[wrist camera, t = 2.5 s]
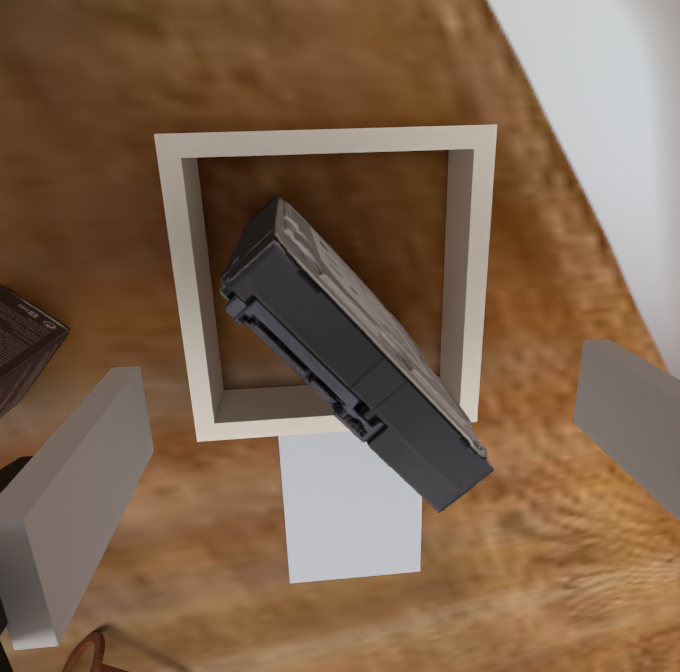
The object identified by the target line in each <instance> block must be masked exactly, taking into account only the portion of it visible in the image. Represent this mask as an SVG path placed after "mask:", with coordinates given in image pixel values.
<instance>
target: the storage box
mask: <svg viewBox="0 0 680 672" xmlns="http://www.w3.org/2000/svg"><path fill="white" fill-rule="evenodd" d="M496 136H497V124H496V125H460V126H423V127H387V128H351V129H315V130H278V131H242V132H206V133H169V134H154V138H155V145H156V152H157V160H158V167H159V174H160V181H161V188H162V195H163V202H164V209H165V217H166V224H167V231H168V238H169V245H170V252H171V259H172V266H173V273H174V281H175V288H176V295H177V302H178V309H179V316H180V323H181V330H182V337H183V345H184V352H185V359H186V366H187V373H188V380H189V387H190V394H191V402H192V409H193V416H194V423H195V430H196V437H197V442H201V441H215V440H229V439H243V438H257V437H271V436H285V435H299V434H313V433H327V432H341V431H350V430H349V429H348V428H347V427H346V426H345V425H344V424H343V423H342V422H340V421H339V420H338V419H337V418H336V417H335V416H334V410H333V408H332V407H331V406H330V405H329V404H328V403H326V402H325V401H324V400H323V399H322V398H321V397H320V396H319V395H318V394H317V393H316V392H315V391H314V390H313V389H312V388H311V387H310V386H309V385H297V386H282V387H266V388H250V389H235V390H224V386H223V378H222V369H221V361H220V352H219V343H218V335H217V326H216V317H215V309H214V300H213V292H212V283H211V274H210V266H209V257H208V248H207V240H206V231H205V223H204V214H203V205H202V197H201V188H200V179H199V171H198V162H197V158H199V157H232V156H264V155H296V154H328V153H360V152H393V151H425V150H449V155H448V180H447V206H446V231H445V256H444V282H443V307H442V332H441V358H440V376H438V378H439V379H440V380H441V381H442V382H443V383H444V384H445V386H446V387H447V388H448V390H449V391H450V393H451V394H452V395H453V397H454V398H455V400H456V401H457V402H458V404H459V405H460V407H461V408H462V409H463V411H464V412H465V414H466V415H467V416H468V418H469V419H470V421H471V422H477V415H478V400H479V385H480V371H481V356H482V341H483V327H484V312H485V298H486V283H487V268H488V254H489V239H490V224H491V210H492V195H493V180H494V166H495V151H496Z"/></svg>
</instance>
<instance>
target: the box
mask: <svg viewBox="0 0 680 672" xmlns="http://www.w3.org/2000/svg"><path fill="white" fill-rule="evenodd" d="M68 332H69V330H68V329H67V328H65V327H64V326H63V325H62V324H61V323H60V322H59V321H57V320H55V319H53V318H51V317H50V316H49V315H47V314H45V313H44V312H43V311H41V310H40V309H38V308H36V307H34V306H33V305H31V304H30V303H28V302H27V301H25V300H23V299H22V298H20V297H18V296H17V295H15V294H14V293H12V292H11V291H9V290H7V289H5V288H4V287H2V286H0V418H1V417H3V416H4V415H5V414H6V413H7V412H8V411H9V410H11V409H12V408H13V407H14V406H15V405H17V404H18V402H19V401H20V400H21V399H22V397H23V396H24V395H25V393H26V392H27V391H28V389H29V388H30V386H31V385H32V384H33V382H34V381H35V380H36V378H37V377H38V376H39V374H40V373H41V371H42V370H43V368H44V367H45V366H46V364H47V363H48V362H49V360H50V359H51V357H52V356H53V354H54V353H55V352H56V350H57V349H58V347H59V346H60V344H61V343H62V342H63V340H64V338H65V337H66V336H67V334H68Z"/></svg>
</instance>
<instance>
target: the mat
mask: <svg viewBox="0 0 680 672" xmlns="http://www.w3.org/2000/svg"><path fill="white" fill-rule="evenodd" d="M278 439H279V451H280V464H281V476H282V489H283V502H284V514H285V527H286V539H287V552H288V565H289V577H290V583H300V582H310V581H321V580H332V579H343V578H354V577H365V576H375V575H386V574H397V573H408V572H419V571H420V556H421V522H422V496H421V495H420V494H418V493H417V492H416V490H414V489H413V488H412V487H411V486H410V485H409V484H408V483H407V482H405V481H404V480H403V479H402V478H401V477H400V475H399V474H397V473H396V472H395V471H394V470H393V469H392V468H391V467H389V466H388V465H387V464H386V463H385V462H384V461H383V460H382V459H381V458H380V457H379V456H378V455H377V454H376V453H375V452H374V451H373V450H371V449H370V447H369V446H368V444H367V442H362V441H361V440H360V439H359V438H357V437H356V436H355V435H353V433H352V432H351V431H341V432H327V433H313V434H299V435H285V436H278Z"/></svg>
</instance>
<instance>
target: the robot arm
mask: <svg viewBox="0 0 680 672" xmlns="http://www.w3.org/2000/svg"><path fill="white" fill-rule="evenodd" d="M573 422H574V423H575V424H576V425H577V426H578V427H579V428H580V429H581V430H582V431H583V432H584V433H586V434H587V435H588V436H589V437H590V438H591V439H592V440H593V441H594V442H595V443H596V444H597V445H598V446H599V447H600V448H602V449H603V450H604V451H605V452H606V453H607V454H608V455H609V456H610V457H611V458H612V459H613V460H614V461H615V462H616V463H617V464H619V465H620V466H621V467H622V468H623V469H624V470H625V471H626V472H627V473H628V474H629V475H630V476H631V477H632V478H633V479H634V480H636V481H637V482H638V483H639V484H640V485H641V486H642V487H643V488H644V489H645V490H646V491H647V492H648V493H649V494H650V495H652V496H653V497H654V498H655V499H656V500H657V501H658V502H659V503H660V504H661V505H662V506H663V507H664V508H665V509H666V510H667V511H669V512H670V513H671V514H672V515H673V516H674V517H675V518H676V519H677V520H678V521H679V522H680V380H679V379H677V378H676V377H674V376H672V375H670V374H669V373H667V372H665V371H663V370H661V369H660V368H658V367H656V366H654V365H653V364H651V363H649V362H647V361H646V360H644V359H642V358H640V357H639V356H637V355H635V354H633V353H632V352H630V351H628V350H626V349H625V348H623V347H621V346H619V345H618V344H616V343H614V342H612V341H611V340H609V339H601V340H584V342H583V350H582V358H581V365H580V373H579V380H578V388H577V396H576V403H575V411H574V418H573ZM153 452H154V448H153V442H152V436H151V430H150V424H149V418H148V412H147V406H146V401H145V395H144V389H143V383H142V377H141V371H140V366H133V367H115V368H111V369H110V371H109V372H108V373H107V374H106V375H105V376H104V377H103V378H102V380H101V381H100V382H99V383H98V384H97V385H96V386H95V388H94V389H93V390H92V391H91V392H90V393H89V394H88V395H87V397H86V398H85V399H84V400H83V401H82V402H81V403H80V404H79V406H78V407H77V408H76V409H75V410H74V411H73V412H72V413H71V415H70V416H69V417H68V418H67V419H66V420H65V421H64V422H63V424H62V425H61V426H60V427H59V428H58V429H57V430H56V431H55V433H54V434H53V435H52V436H51V437H50V438H49V439H48V440H47V442H46V443H45V444H44V445H43V446H42V447H41V448H40V450H39V451H38V452H37V453H36V454H35V455H34V456H28V457H20V458H18V459H17V460H15V461H14V462H12V463H10V464H9V465H7V466H5V467H4V468H2V469H1V470H0V635H1V633H2V632H3V630H4V629H5V627H6V625H7V628H8V632H9V635H10V638H11V641H12V644H13V647H14V650H21V649H32V648H43V647H53V646H59V644H60V642H61V640H62V638H63V636H64V634H65V632H66V630H67V627H68V625H69V623H70V621H71V619H72V617H73V615H74V613H75V611H76V609H77V607H78V605H79V603H80V601H81V599H82V597H83V595H84V593H85V591H86V589H87V587H88V585H89V582H90V580H91V578H92V576H93V574H94V572H95V570H96V568H97V566H98V564H99V562H100V560H101V558H102V556H103V554H104V552H105V550H106V548H107V546H108V544H109V542H110V539H111V537H112V535H113V533H114V531H115V529H116V527H117V525H118V523H119V521H120V519H121V517H122V515H123V513H124V511H125V509H126V507H127V505H128V503H129V501H130V499H131V497H132V494H133V492H134V490H135V488H136V486H137V484H138V482H139V480H140V478H141V476H142V474H143V472H144V470H145V468H146V466H147V464H148V462H149V460H150V458H151V456H152V454H153ZM0 672H13V670H12V667H11V665H10V663H9V660H8V658H7V656H6V653H5V651H4V649H3V646H2V644H1V642H0Z"/></svg>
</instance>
